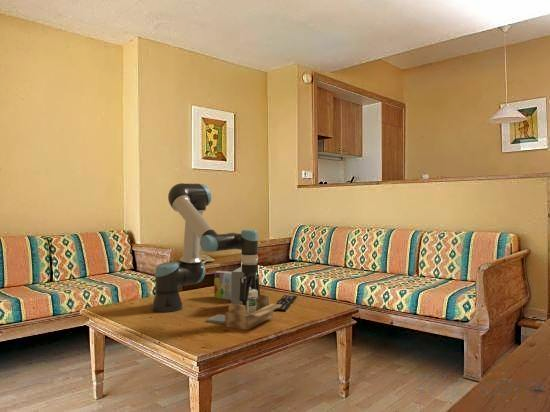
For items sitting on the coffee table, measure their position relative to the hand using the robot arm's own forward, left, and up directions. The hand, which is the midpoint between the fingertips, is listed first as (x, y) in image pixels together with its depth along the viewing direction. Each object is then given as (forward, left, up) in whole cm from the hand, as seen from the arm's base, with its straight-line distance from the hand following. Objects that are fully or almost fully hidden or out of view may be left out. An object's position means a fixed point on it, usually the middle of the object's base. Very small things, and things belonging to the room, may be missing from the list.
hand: (250, 313), depth 201 cm
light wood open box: (+3, 0, -4) cm, 4 cm away
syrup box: (0, 0, -4) cm, 4 cm away
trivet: (-13, -4, -4) cm, 14 cm away
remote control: (0, +37, -4) cm, 37 cm away
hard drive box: (-16, +20, -4) cm, 26 cm away
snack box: (-32, +35, -4) cm, 48 cm away
